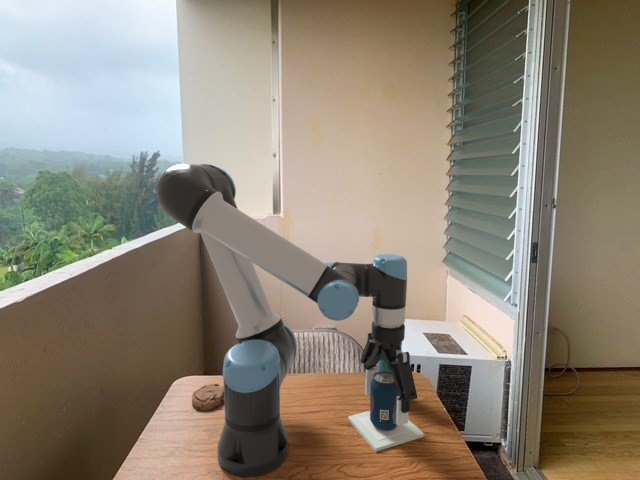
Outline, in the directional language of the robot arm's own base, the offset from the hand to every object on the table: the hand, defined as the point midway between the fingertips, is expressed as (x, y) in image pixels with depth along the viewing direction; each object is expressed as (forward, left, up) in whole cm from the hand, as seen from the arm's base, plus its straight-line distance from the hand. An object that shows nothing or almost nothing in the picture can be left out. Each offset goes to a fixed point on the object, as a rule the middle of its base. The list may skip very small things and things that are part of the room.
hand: (385, 407), depth 98 cm
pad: (0, 0, -5) cm, 5 cm away
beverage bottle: (+9, +12, -5) cm, 16 cm away
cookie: (-36, +29, -6) cm, 47 cm away
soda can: (0, 0, -4) cm, 4 cm away
